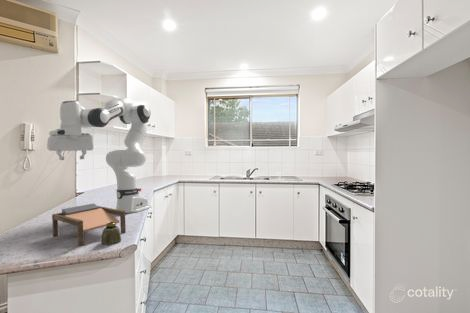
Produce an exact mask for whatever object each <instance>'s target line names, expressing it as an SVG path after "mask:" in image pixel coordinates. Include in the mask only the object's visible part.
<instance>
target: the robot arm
mask: <svg viewBox="0 0 470 313" xmlns="http://www.w3.org/2000/svg"><path fill="white" fill-rule="evenodd" d="M59 118H60V119H59V120H60V121H61V122H60V128H59V129H58V128H57V129H55V130H51V131H49V133H48V135H49V136H48V138H47V143H46V145H47V146H46V147H47V149H48V151H50V152H52V151H53V152H56V154H57V155H56V156H58V160H59V161H65V156H63V155H62V151H64V152H65V151H67V152H69V151H81V153H82V154H81V155H79V159H80V160H85V156H86V154H87V151H93V150H94V142H93V141H94V140H93V135H91V134H90V133H88V132H87V133H85V132H82V128H84V129H85V128H104V127H106V126H107V125H108V124H109V123H110V122H111V121H112V120H114V119H116V118H119V120H120V121H121V122H122V123H123V124H125V125H130V124H131V126H130V128H129V130H128V132H127V134H126V136H125V138H124V140H123V141H124V142H123V143H124V145H125V147H126V149H115V150H112V151H111V150H110V151H108V153H107V154H106V155H105V161H106V162H105V163H106V164H107V165H108V166H110V168H111V169H112V170H113V172H114V175H115V178H116V186H117V188H116V206H115V209H117V210H123V211H125V214H128V213H133V214H134V213H138V212H141V211H145V210H148V209H152V208H153V207H152V205H150V204H149V202H148V199H147V198H146V197H145V196H143V195H142V194H141V193H139V192H142V190H143V189H142V188H140V187H139V188H137V179H136V175H135V174H134V173H132V172H131V171H130V169H129V168H137V167H141V166H144V164H145V162H146V160H147V157H146V154H145V152H144V151H143V150H142V146H143V143H144V140H145V138H146V135H147V129H148V128H147V125H146V124H147V123H148V122H149V119H150V118H151V110H150V108H149V107H148V106H147V105H145V104H139V105H134V104H133V101H132V100H131V99H130V98H129V97H126V96H125V97H124V96H123V97H116V98H112V99H110V100H108V101H106V102H105V104H104V108H103V107H97V108H88V109H87V108H85V107H83V106H82V105H81V104H80V102H79V101H78V100H66V101H62V102H61V103H60V108H59Z"/></svg>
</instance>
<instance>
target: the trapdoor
mask: <svg viewBox="0 0 470 313" xmlns="http://www.w3.org/2000/svg"><path fill="white" fill-rule="evenodd" d="M98 206H99V205H97V204H95V203H89V204H88V203H87V204H82V205H79V206H72V207H67V208H62V209H61V213H62V215H63V216H67V217H70V218H74V219H78V220H82V221H83V233H86V232H89V231H93V230H98V229H102V228H104V227H105V228H106V224H107V223H109V222H115V223H116V224H118V223H120V220H119V219H118V218H116V216H115V217H114V216H113V214H110V213H107V212H106V211H104V210H103V209H101V208H99V207H98ZM73 226H74V227H75V228H77V226H75V225H73Z"/></svg>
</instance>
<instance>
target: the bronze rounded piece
mask: <svg viewBox="0 0 470 313" xmlns="http://www.w3.org/2000/svg"><path fill="white" fill-rule="evenodd" d="M103 228H104V227H103ZM121 241H122V236H121V229H120V228H119V226H117V223H115V222H109V223H107V224H106V226H105V228H104V229H103V230H102V233H101V245H106V246H108V245H113V244H114V243H115V244H118V243H121Z"/></svg>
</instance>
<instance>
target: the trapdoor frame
mask: <svg viewBox="0 0 470 313" xmlns="http://www.w3.org/2000/svg"><path fill="white" fill-rule="evenodd" d="M97 206H98V207H99V208H101V209H103V210H104V211H106V212H107V213H109V214H110V215H115V216H116V215H117V216H119V217H120V218H119V219H120V220H119V223H120V234H125V233H127V231H126V213H125V211H123V210H117V209H116V208H111V207H106V206H100V205H97ZM51 220H52V222H51V223H52V237H53V238H56V237H59V222H61V223H65V224H70V225H72V226H74V225H75V226H77V229H76V230H77V231H76V232H77V236H76V237H77V247H83V246H84V245H85V244H84V243H85V242H84V241H85V239H84V232H83V221H82V220H78V219H74V218H70V217H67V216H63V215H62V212H57V213H53V214H51ZM75 226H74V227H75Z"/></svg>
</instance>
